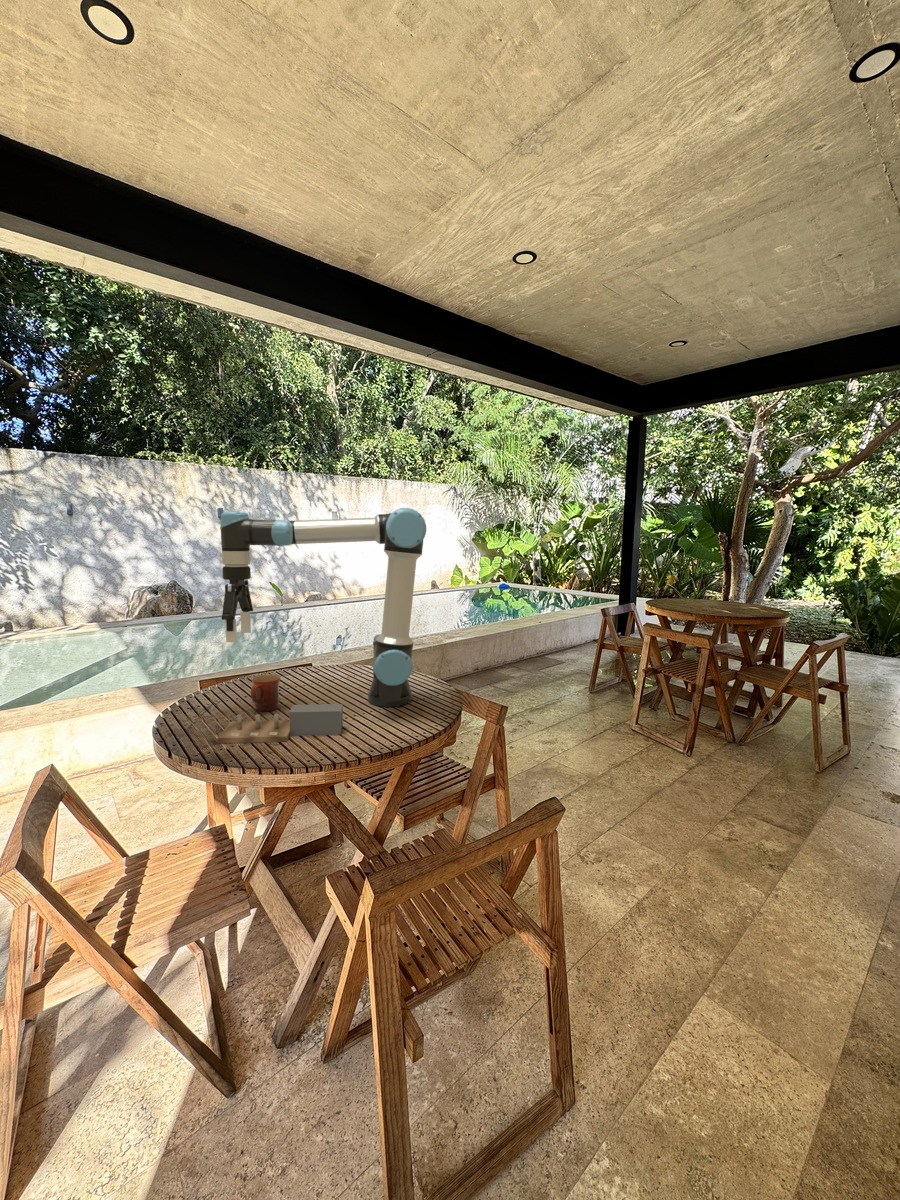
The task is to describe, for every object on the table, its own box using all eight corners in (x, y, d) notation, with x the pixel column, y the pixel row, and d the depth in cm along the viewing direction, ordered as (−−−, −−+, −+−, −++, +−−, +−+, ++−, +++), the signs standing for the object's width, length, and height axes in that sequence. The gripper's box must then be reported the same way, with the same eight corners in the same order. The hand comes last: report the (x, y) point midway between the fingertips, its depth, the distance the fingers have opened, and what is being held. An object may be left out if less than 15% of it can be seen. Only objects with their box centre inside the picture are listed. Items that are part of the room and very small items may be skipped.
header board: (295, 724, 145) (294, 707, 144) (286, 741, 133) (286, 722, 133) (231, 726, 143) (231, 708, 142) (217, 743, 131) (216, 723, 130)
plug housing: (342, 726, 145) (342, 703, 144) (340, 734, 139) (340, 711, 138) (293, 727, 143) (293, 704, 142) (289, 736, 137) (289, 712, 136)
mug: (262, 703, 163) (261, 673, 162) (286, 705, 161) (285, 675, 160) (240, 715, 151) (239, 683, 150) (265, 718, 150) (265, 685, 148)
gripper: (236, 563, 155) (239, 629, 157) (206, 568, 130) (210, 646, 133) (261, 563, 155) (263, 629, 158) (236, 568, 131) (239, 646, 134)
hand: (239, 637), depth 145 cm, fingers open, 13 cm apart
